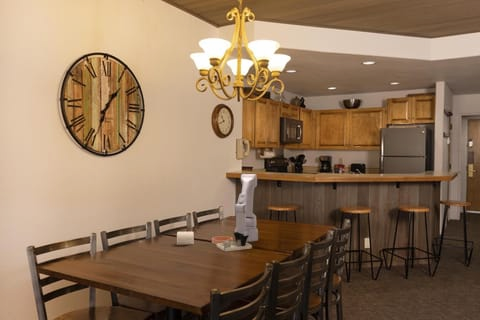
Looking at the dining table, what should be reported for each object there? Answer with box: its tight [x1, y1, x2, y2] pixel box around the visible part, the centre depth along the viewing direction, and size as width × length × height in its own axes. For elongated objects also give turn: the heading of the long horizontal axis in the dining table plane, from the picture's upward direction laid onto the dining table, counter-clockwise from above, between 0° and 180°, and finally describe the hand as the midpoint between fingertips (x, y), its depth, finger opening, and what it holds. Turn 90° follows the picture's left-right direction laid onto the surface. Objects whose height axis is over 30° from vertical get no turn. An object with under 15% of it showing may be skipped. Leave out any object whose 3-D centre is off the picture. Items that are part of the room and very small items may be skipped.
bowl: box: [211, 235, 234, 246], centre depth 245 cm, size 13×13×4 cm
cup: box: [176, 231, 195, 246], centre depth 244 cm, size 8×12×10 cm
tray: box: [215, 241, 253, 252], centre depth 233 cm, size 18×13×2 cm
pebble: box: [223, 241, 231, 248], centre depth 231 cm, size 4×4×4 cm
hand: (240, 245), depth 235 cm, fingers open, 6 cm apart
